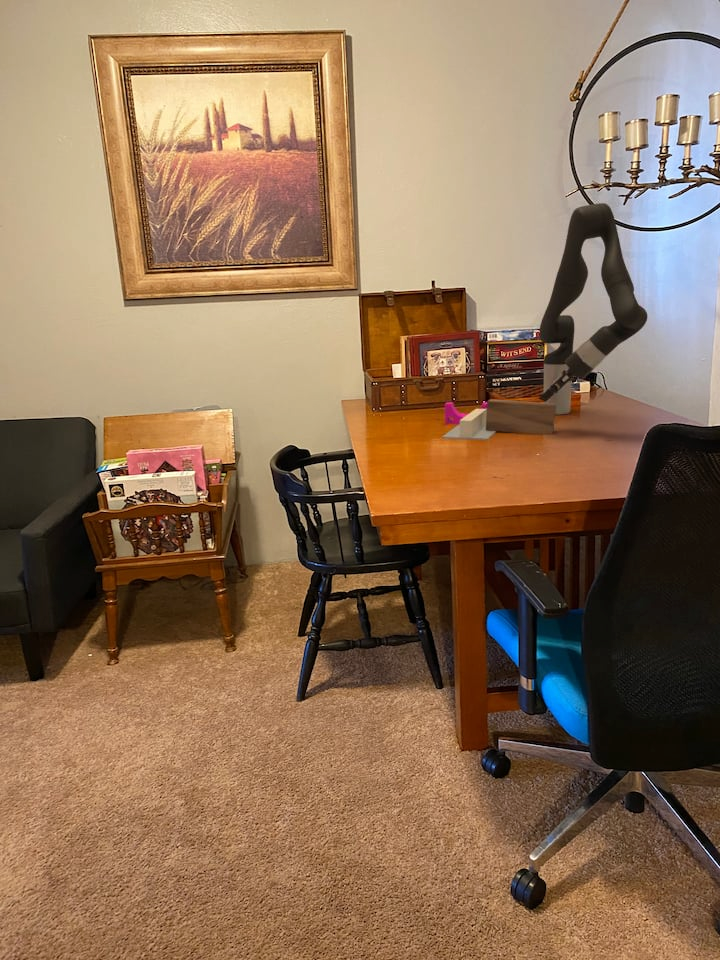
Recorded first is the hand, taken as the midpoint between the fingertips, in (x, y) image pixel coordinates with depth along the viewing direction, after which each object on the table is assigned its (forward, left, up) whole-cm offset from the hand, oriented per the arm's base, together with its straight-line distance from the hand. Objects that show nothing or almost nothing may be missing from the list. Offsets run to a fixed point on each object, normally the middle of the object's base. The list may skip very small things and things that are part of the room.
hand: (544, 397), depth 207 cm
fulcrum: (+2, -21, -11) cm, 24 cm away
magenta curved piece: (-12, -26, -12) cm, 31 cm away
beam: (0, -7, -11) cm, 13 cm away
